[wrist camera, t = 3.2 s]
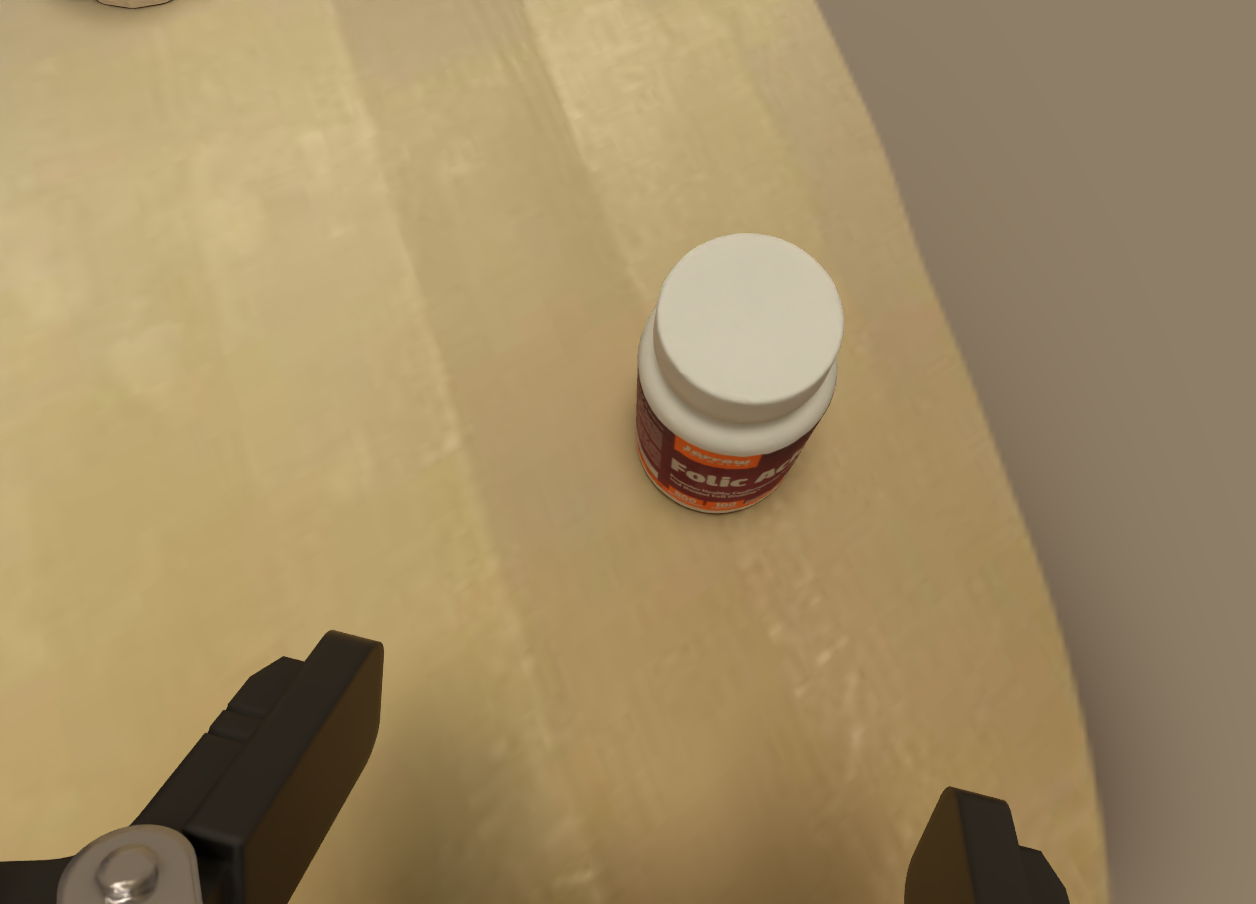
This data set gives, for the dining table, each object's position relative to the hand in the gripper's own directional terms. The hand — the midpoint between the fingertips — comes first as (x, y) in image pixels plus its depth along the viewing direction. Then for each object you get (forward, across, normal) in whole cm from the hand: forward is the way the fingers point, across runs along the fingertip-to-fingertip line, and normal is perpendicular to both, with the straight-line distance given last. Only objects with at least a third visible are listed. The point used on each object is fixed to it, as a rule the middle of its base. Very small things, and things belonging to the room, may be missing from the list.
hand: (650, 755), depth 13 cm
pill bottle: (+15, 0, -3) cm, 16 cm away
